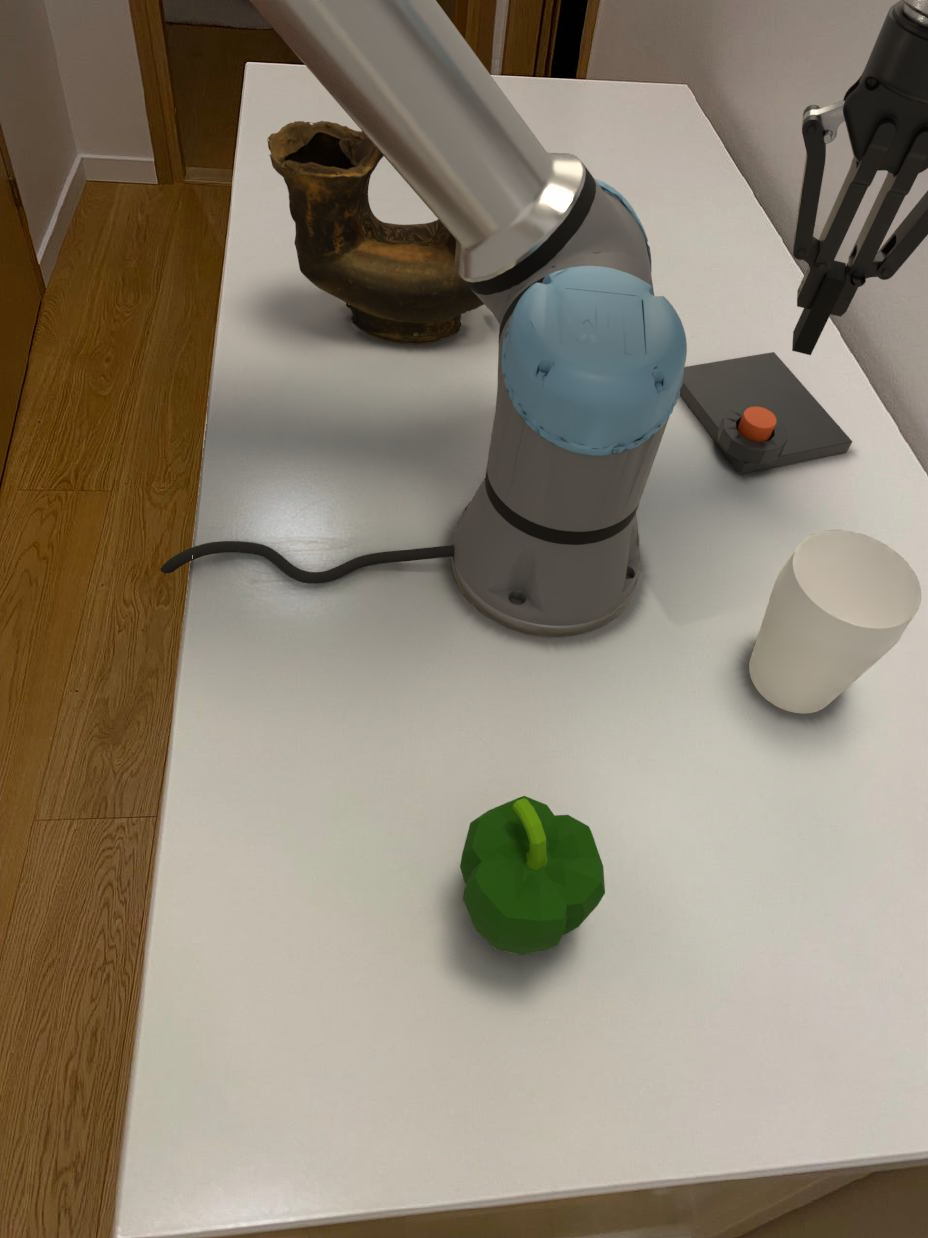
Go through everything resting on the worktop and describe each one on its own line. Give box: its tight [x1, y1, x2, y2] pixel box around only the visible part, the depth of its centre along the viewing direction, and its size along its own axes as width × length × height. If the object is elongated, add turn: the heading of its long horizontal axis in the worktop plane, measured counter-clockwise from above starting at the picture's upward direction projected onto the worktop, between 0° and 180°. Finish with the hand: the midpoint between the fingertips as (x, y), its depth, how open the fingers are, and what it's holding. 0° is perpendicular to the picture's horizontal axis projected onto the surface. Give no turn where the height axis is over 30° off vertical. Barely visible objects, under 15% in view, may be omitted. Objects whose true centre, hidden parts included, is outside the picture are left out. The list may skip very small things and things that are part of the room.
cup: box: [748, 529, 923, 714], centre depth 68 cm, size 9×9×12 cm
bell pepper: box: [459, 795, 606, 956], centre depth 56 cm, size 8×8×10 cm
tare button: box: [738, 407, 777, 442], centre depth 86 cm, size 3×3×2 cm
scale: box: [679, 351, 853, 475], centre depth 91 cm, size 13×14×3 cm
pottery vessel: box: [266, 120, 485, 345], centre depth 89 cm, size 25×11×20 cm, turn 94°
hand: (801, 342), depth 76 cm, fingers closed
